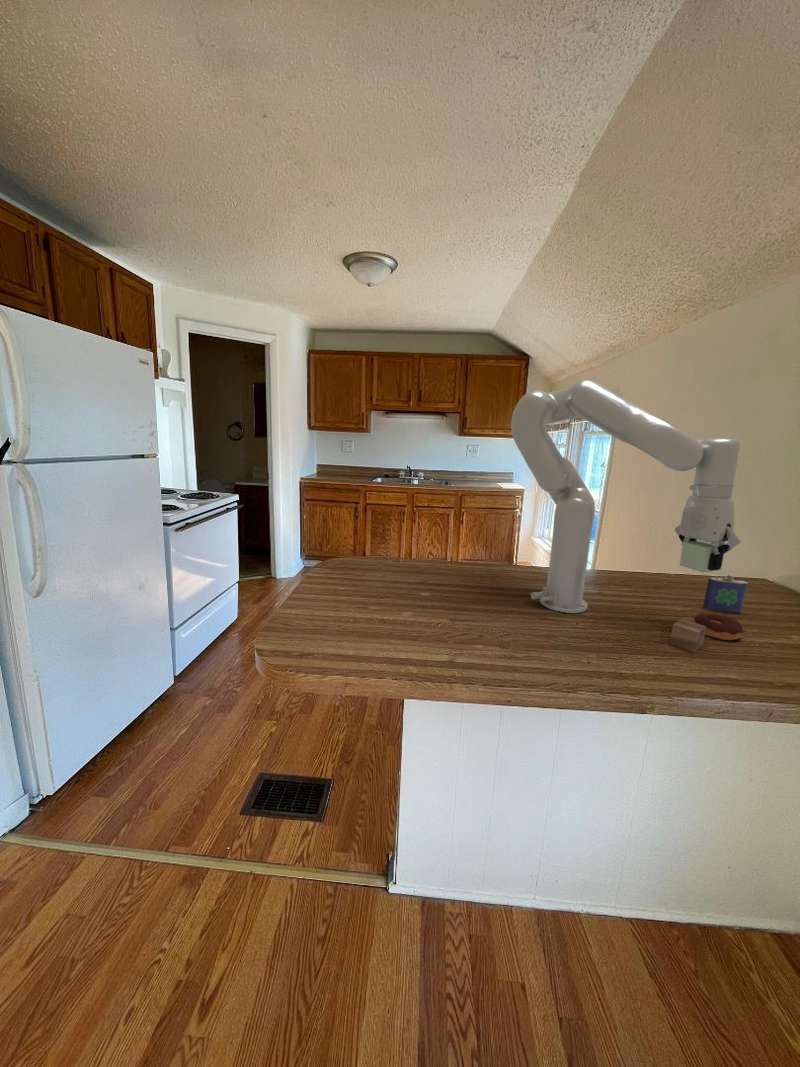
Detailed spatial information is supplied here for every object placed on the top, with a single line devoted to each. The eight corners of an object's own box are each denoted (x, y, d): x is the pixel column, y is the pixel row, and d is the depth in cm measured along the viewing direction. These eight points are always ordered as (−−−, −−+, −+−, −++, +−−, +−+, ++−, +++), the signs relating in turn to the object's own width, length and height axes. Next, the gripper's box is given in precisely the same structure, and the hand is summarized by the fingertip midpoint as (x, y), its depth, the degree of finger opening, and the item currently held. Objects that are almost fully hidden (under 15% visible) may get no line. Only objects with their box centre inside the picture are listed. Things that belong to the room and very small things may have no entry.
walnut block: (693, 652, 95) (698, 632, 94) (669, 643, 99) (673, 624, 98) (702, 646, 98) (706, 626, 97) (678, 638, 102) (682, 618, 101)
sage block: (702, 572, 101) (706, 547, 99) (679, 565, 106) (682, 541, 105) (721, 570, 102) (725, 545, 101) (697, 563, 108) (701, 540, 107)
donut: (682, 627, 108) (685, 613, 107) (706, 621, 112) (710, 607, 111) (724, 645, 99) (728, 630, 98) (750, 639, 103) (753, 623, 102)
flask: (738, 610, 119) (747, 574, 117) (743, 615, 117) (752, 578, 114) (701, 606, 122) (708, 570, 119) (705, 610, 119) (712, 574, 117)
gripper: (667, 488, 107) (658, 557, 111) (738, 497, 91) (724, 578, 95) (690, 487, 109) (680, 555, 113) (763, 496, 93) (749, 574, 97)
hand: (700, 565), depth 104 cm, fingers closed on sage block, 6 cm apart
